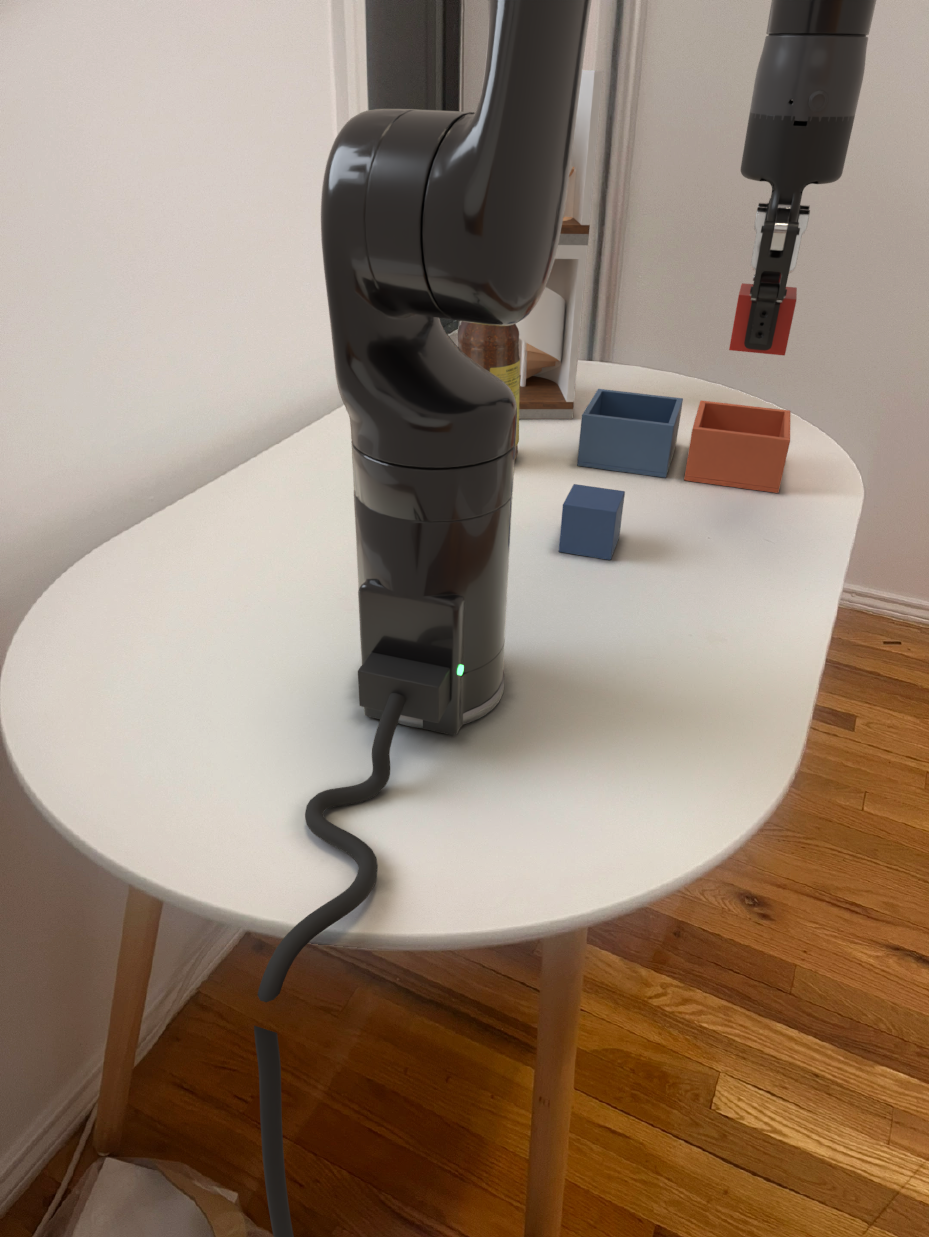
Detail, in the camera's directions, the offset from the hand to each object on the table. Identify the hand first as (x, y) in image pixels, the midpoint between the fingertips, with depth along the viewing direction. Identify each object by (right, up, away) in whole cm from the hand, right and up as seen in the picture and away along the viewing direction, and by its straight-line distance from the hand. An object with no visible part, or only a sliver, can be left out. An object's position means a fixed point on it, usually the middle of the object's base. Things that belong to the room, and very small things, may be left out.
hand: (758, 339), depth 75 cm
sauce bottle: (-23, -7, +18) cm, 30 cm away
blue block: (-14, -17, +2) cm, 22 cm away
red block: (0, 0, 0) cm, 1 cm away
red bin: (+3, -8, +17) cm, 19 cm away
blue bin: (-7, -6, +20) cm, 22 cm away
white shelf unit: (-18, +3, +34) cm, 39 cm away
